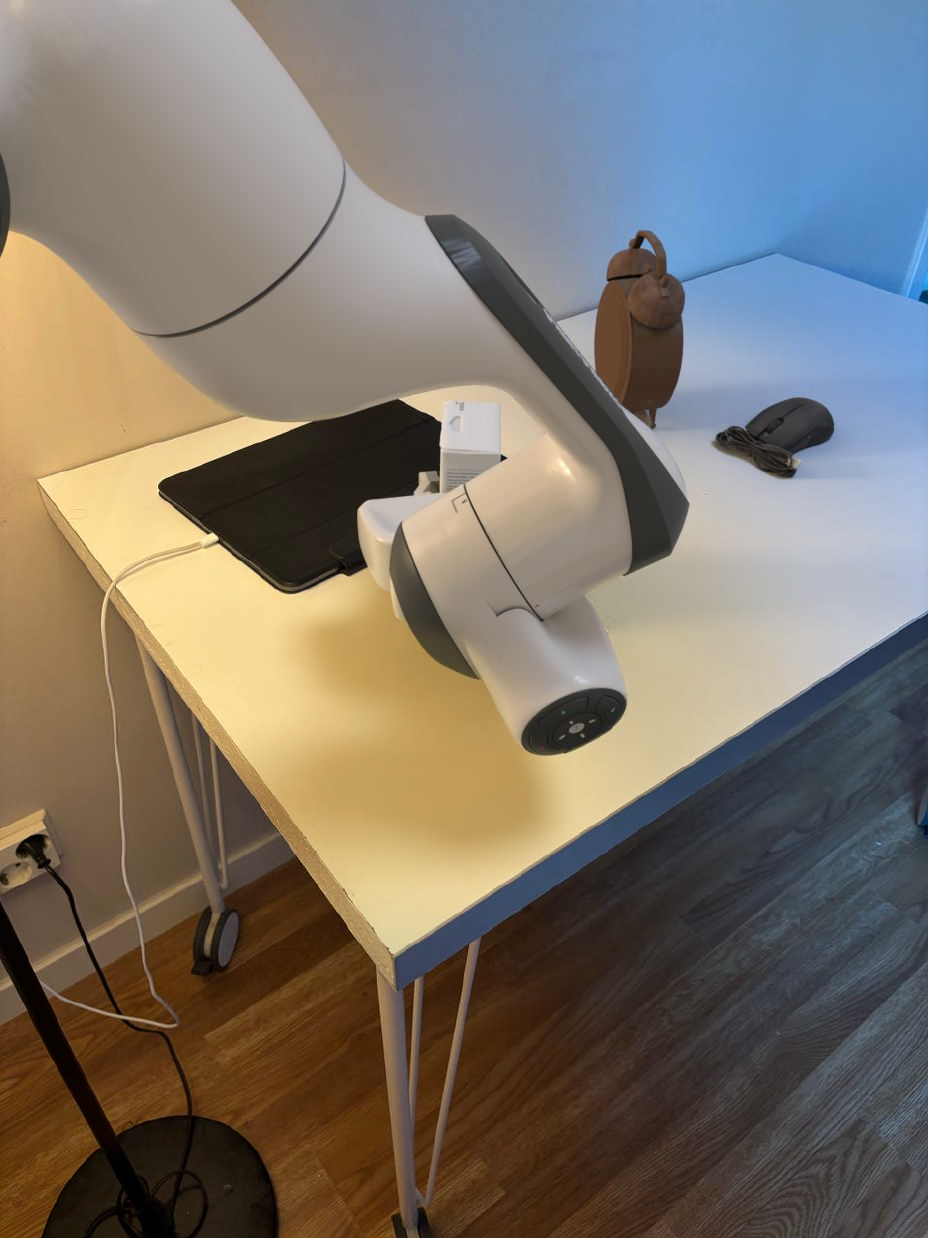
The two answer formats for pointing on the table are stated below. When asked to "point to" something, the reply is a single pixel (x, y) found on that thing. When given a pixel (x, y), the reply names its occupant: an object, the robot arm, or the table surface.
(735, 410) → the table surface
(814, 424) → the computer mouse
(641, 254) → the alarm clock
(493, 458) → the ink box
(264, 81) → the robot arm
